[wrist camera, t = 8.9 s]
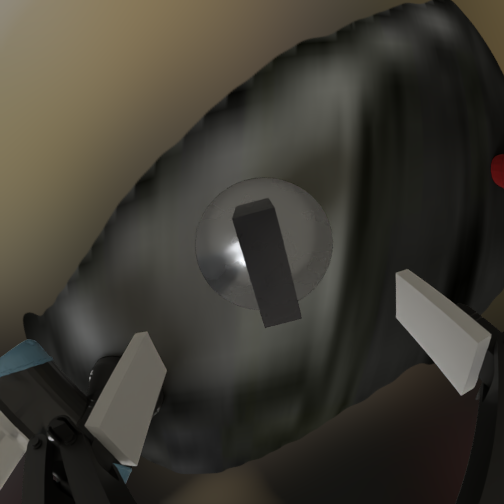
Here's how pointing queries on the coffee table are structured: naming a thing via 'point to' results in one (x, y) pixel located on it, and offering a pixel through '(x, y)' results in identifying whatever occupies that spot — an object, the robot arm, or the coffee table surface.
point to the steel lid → (264, 246)
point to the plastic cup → (498, 170)
